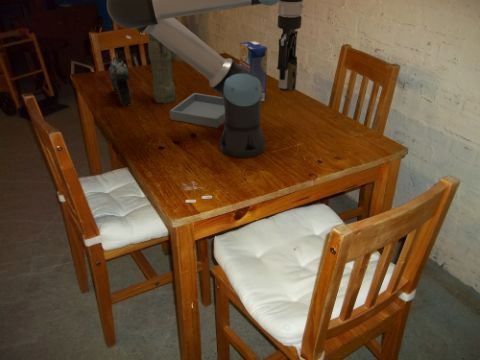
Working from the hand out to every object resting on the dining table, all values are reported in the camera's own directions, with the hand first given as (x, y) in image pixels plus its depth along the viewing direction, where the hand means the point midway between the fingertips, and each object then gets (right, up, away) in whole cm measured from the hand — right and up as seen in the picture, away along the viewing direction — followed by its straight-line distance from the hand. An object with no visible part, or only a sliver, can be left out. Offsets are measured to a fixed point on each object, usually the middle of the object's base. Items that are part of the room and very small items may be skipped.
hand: (285, 84), depth 144 cm
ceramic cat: (-66, +1, +31) cm, 73 cm away
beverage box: (-10, +2, +34) cm, 35 cm away
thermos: (-47, +1, +31) cm, 57 cm away
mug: (0, -1, +1) cm, 2 cm away
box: (-29, -7, +19) cm, 36 cm away
